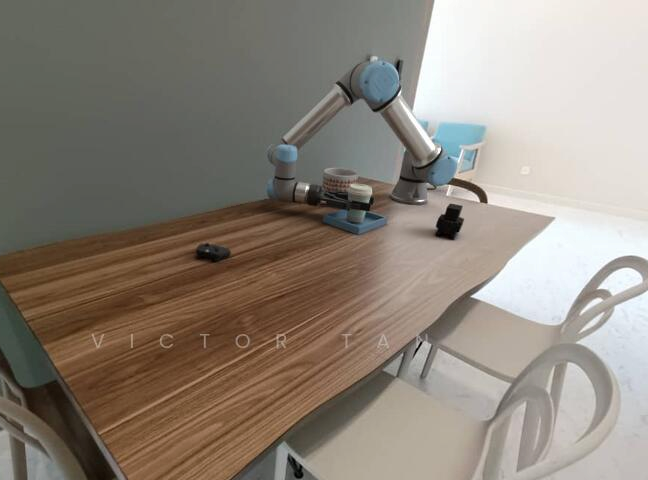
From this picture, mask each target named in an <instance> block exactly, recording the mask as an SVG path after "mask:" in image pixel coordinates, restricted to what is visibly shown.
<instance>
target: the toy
mask: <svg viewBox="0 0 648 480" xmlns="http://www.w3.org/2000/svg"><path fill="white" fill-rule="evenodd" d="M462 210H463V205H460V204H457V203H449V204H448V205H447V207H446V209H445V212H444V213H441V214H440V215H439V217H438V218H437V221H436V224H435V228H436V233H435V236H436V237H439V236H440V235H441V233H443V234H447V235H451V237H450V240H452V241H454V240H455V238H456V236H457V234H458V233H460V231H461V229H462V227H463V225H464V221H465V218H463V217H461V213H462Z"/></svg>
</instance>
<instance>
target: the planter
mask: <svg viewBox="0 0 648 480" xmlns="http://www.w3.org/2000/svg"><path fill="white" fill-rule="evenodd" d="M358 180H359V172H358V171H356V170H354V169H349V168H343V167H328V168H325V169H324V170H323V175H322V184H321V187H322V191H329V189H331V190H336V191H345V192H348V188H349V186H350V185H351V184H358Z"/></svg>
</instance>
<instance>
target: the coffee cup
mask: <svg viewBox="0 0 648 480" xmlns="http://www.w3.org/2000/svg"><path fill="white" fill-rule="evenodd" d="M372 188H373V187H372V186H370V185H367V184H364V183H357V184H351V185H350V186H349V188H348V201H351V203H352V200H353V201H359V202H365V203H369V200H370V197H372V195H373V189H372ZM365 213H366V211H362V210H356V209H351V208H350V211H347V220H349V221H351V222H357V223H359V222H363V220H364V216H365Z"/></svg>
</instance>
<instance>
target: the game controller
mask: <svg viewBox="0 0 648 480" xmlns="http://www.w3.org/2000/svg"><path fill="white" fill-rule="evenodd" d="M195 253H196V258H197V259H201V258H202V257H206V258H211V259H213V261H214V262H219V261H220V260H221V259H222V258H227V257H229V256H230V255H231V254H232V252H231V250H230V249H229V248H227V247H224V246H220V245H214V244H210V243H209V242H206V243H199V245H198V246H196V249H195Z"/></svg>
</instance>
